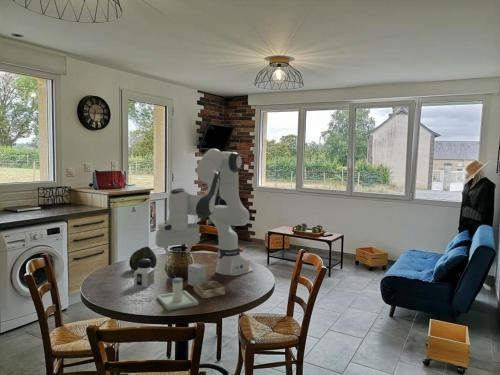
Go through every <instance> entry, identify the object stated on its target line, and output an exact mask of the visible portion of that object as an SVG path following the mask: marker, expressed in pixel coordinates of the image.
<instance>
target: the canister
mask: <svg viewBox="0 0 500 375" xmlns="http://www.w3.org/2000/svg"><path fill="white" fill-rule="evenodd" d="M171 281H172V293H173V302H181V301H182V291H183V282H184V278H182V277H174V278H172V279H171Z"/></svg>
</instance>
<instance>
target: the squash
mask: <svg viewBox="0 0 500 375" xmlns="http://www.w3.org/2000/svg"><path fill="white" fill-rule="evenodd" d="M141 259H149V260H151V268H154V269H155V267H156V265H157V262H158V261H157V257H156V254H155V252H154V251H153V250H152V249H151V247H149V246H144V247H141V248H140V249H139V248H138V249H137V250H135V251H134V252H133V253H132V254H131V256H130V258H129V262H128V263H129V268H130V269H131V270H132V271H136V270H138V261H139V260H141Z"/></svg>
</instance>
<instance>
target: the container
mask: <svg viewBox="0 0 500 375" xmlns="http://www.w3.org/2000/svg"><path fill="white" fill-rule="evenodd" d="M133 271H134V270H133ZM154 283H155V267H154V268H151V260H149V259H141V260H139V261H138V270H136V271H134V272H133V286H135V287H142V288H148V287H150V286H151V285H153V284H154Z"/></svg>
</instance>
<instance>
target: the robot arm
mask: <svg viewBox="0 0 500 375" xmlns="http://www.w3.org/2000/svg"><path fill="white" fill-rule="evenodd" d="M242 162H243V159H242V156H241V154H239V153H238V152H236V151H221V150H219V149H217V148H210V149H208V151H206V152H205V153H204V155H203V156H202V157H201V159H200V161H199V162H198V164H197V166H196V170H195V171H196V175H197V177H198V178H199V180H201V182H203V183H205V184H208V187H207V190H206V193H205V194H203V195H201V194H199V195H198V194H191V193H189V192H188V190H187V189H186V188H179V187H178V188H173V189H172V190H170V192H169V195H168V211H169V212H168V213H169V215H168V220H165V221H163V222H159V223H158V224H157V228H158V230H157V231H156V233H155V245H156V246H157V247H158V248H162V247H163V249H164V251H165V256H167V257H170V256H171V251H169V250H168V249H169V247H171V246H173V247H175V246H181V245H188V247H187V248H185V254H191V249H192V247H193V244H198V243H200V241H201V240H200V239H201V238H200V225H199V224H198V223H197V222H192V223H189V216H197V217H202V218H208V219H209V220H210V221H211V223H213V225H214V226H215V228H216V231H217V235H218V247H217V263H216V267H215V270H214V271H215V273H217V274H220V275H223V276H233V277H236V276H241V275H244V274H248V273H252V272H254V268H252V267H251V266H250V262H249V260H248V259H247V257H245V256H243V255H242V254H241V253H243V252H244V249H243V248H239V246H238V244H239V242H238V241H239V240H238V239H239V238H238V234H237V232H235V231H234V230H233V228H232V226H235V227H236V226H238V227H239V226H246V225H247V224H248V223H249V221H250V212H249V210H248V209H247V208H246V207H245V206H244V205H243V203H242V201H241V199H240V194H239V193H240V192H239V190H240V187H239V182H240V181H239V171H240V169H241V167H242V164H243V163H242ZM218 194H219V196H220V198H221V199H223V200H224V202H225V203H226V205H224V204H223V205H222V204H217V205H216V200H217V197H218Z"/></svg>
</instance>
